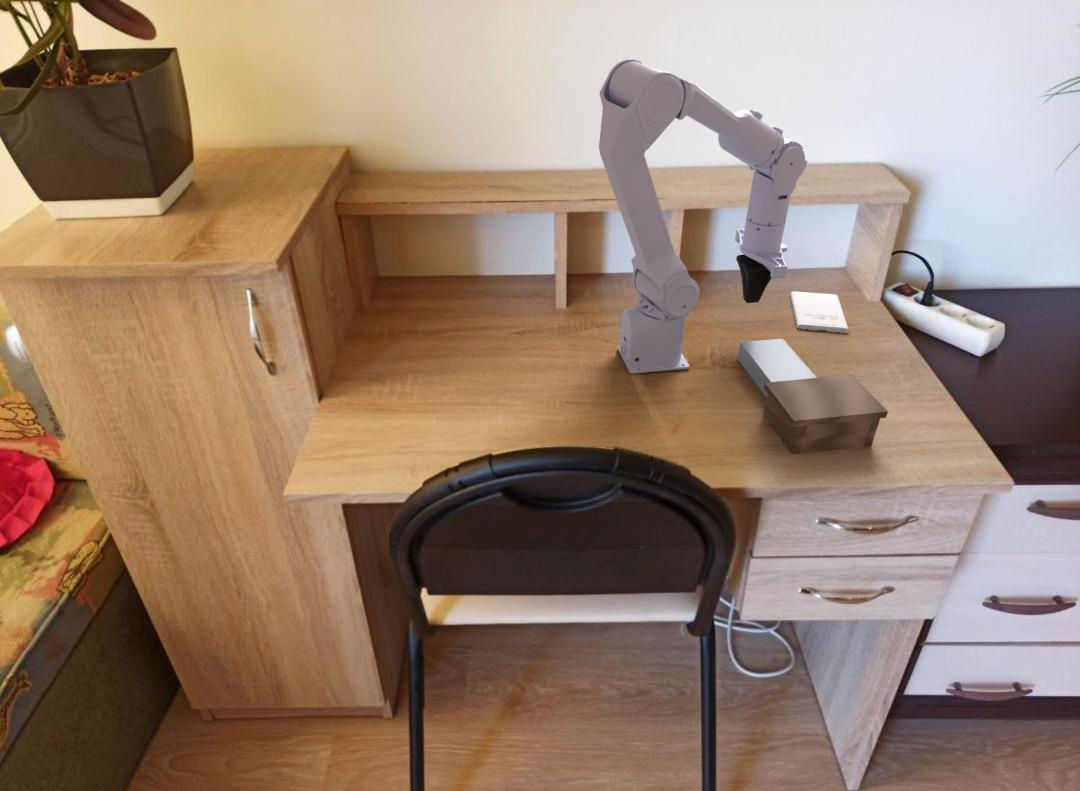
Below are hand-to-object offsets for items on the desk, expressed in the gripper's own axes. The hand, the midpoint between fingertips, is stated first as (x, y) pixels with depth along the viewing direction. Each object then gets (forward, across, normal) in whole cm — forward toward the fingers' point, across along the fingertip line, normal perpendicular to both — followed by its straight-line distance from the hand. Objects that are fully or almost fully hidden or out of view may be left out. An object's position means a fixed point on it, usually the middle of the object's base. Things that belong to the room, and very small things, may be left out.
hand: (751, 300), depth 120 cm
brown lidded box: (+7, -25, 0) cm, 26 cm away
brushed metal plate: (+7, -13, 0) cm, 15 cm away
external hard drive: (+8, +6, -16) cm, 19 cm away
